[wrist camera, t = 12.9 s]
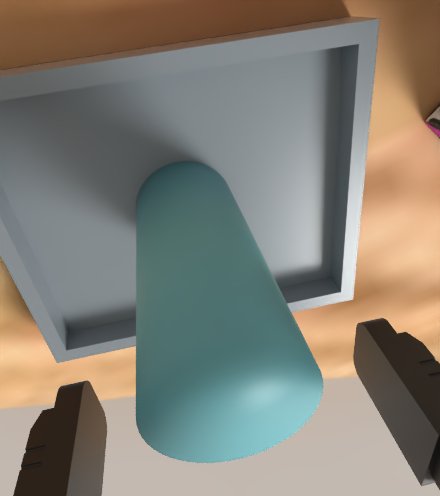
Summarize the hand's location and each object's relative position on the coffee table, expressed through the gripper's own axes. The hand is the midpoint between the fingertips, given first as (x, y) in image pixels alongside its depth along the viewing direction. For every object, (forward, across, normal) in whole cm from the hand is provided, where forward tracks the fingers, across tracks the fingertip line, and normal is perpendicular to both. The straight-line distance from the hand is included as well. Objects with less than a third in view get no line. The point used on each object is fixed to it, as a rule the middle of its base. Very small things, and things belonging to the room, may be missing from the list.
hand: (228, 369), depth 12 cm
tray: (+12, 0, 0) cm, 12 cm away
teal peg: (+11, 0, 0) cm, 11 cm away
